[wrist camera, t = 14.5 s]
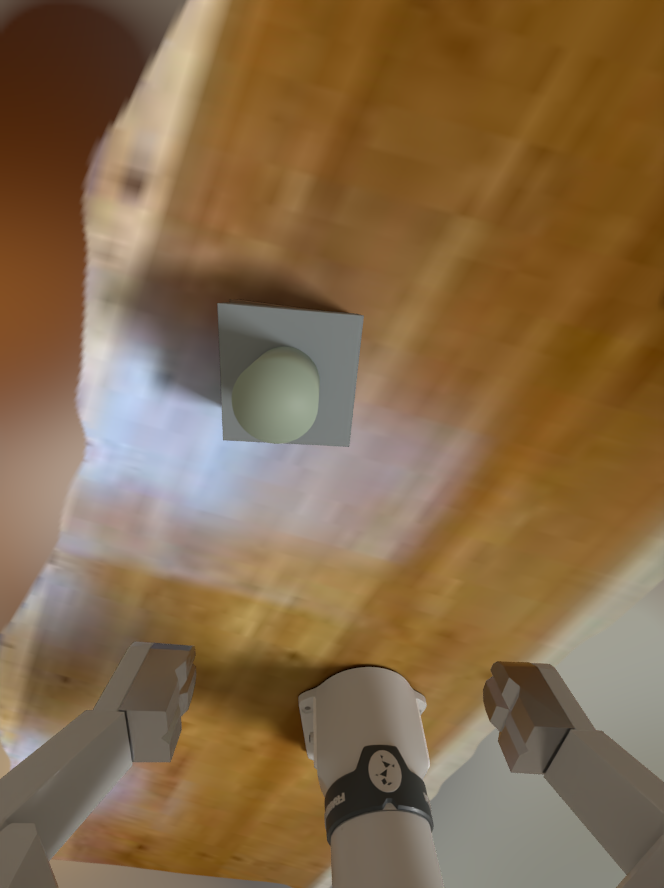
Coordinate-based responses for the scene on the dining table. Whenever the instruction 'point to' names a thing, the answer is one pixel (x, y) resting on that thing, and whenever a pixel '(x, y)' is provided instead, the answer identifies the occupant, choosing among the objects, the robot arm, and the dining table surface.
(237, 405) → the sage green rounded oval
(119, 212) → the dining table surface
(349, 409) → the grey slab
